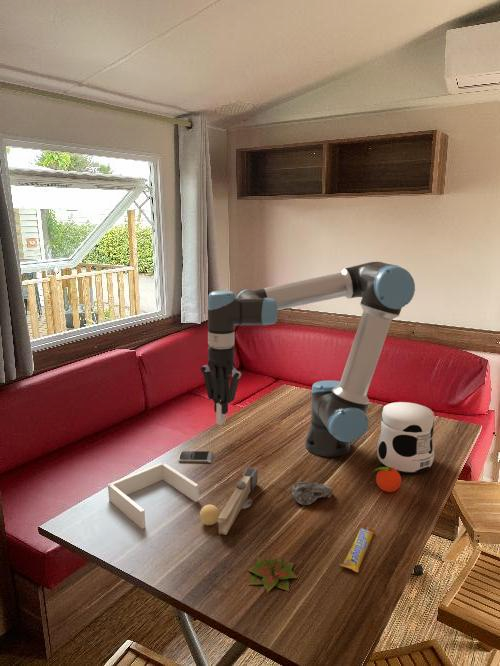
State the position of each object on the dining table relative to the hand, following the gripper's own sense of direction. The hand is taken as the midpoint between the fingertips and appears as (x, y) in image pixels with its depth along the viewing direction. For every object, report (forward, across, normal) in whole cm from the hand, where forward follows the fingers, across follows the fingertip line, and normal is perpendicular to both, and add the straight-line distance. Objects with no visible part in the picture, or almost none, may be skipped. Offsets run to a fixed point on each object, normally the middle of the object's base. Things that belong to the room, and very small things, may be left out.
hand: (221, 422), depth 144 cm
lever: (+17, +13, -11) cm, 24 cm away
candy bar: (+18, +46, -12) cm, 51 cm away
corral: (+18, -9, -20) cm, 28 cm away
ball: (+18, +10, -21) cm, 29 cm away
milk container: (+17, +47, +34) cm, 60 cm away
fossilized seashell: (+18, +28, +3) cm, 33 cm away
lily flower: (+18, +32, -29) cm, 47 cm away
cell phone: (+19, -13, +6) cm, 24 cm away
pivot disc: (+18, +12, -9) cm, 23 cm away
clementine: (+17, +46, +17) cm, 51 cm away
